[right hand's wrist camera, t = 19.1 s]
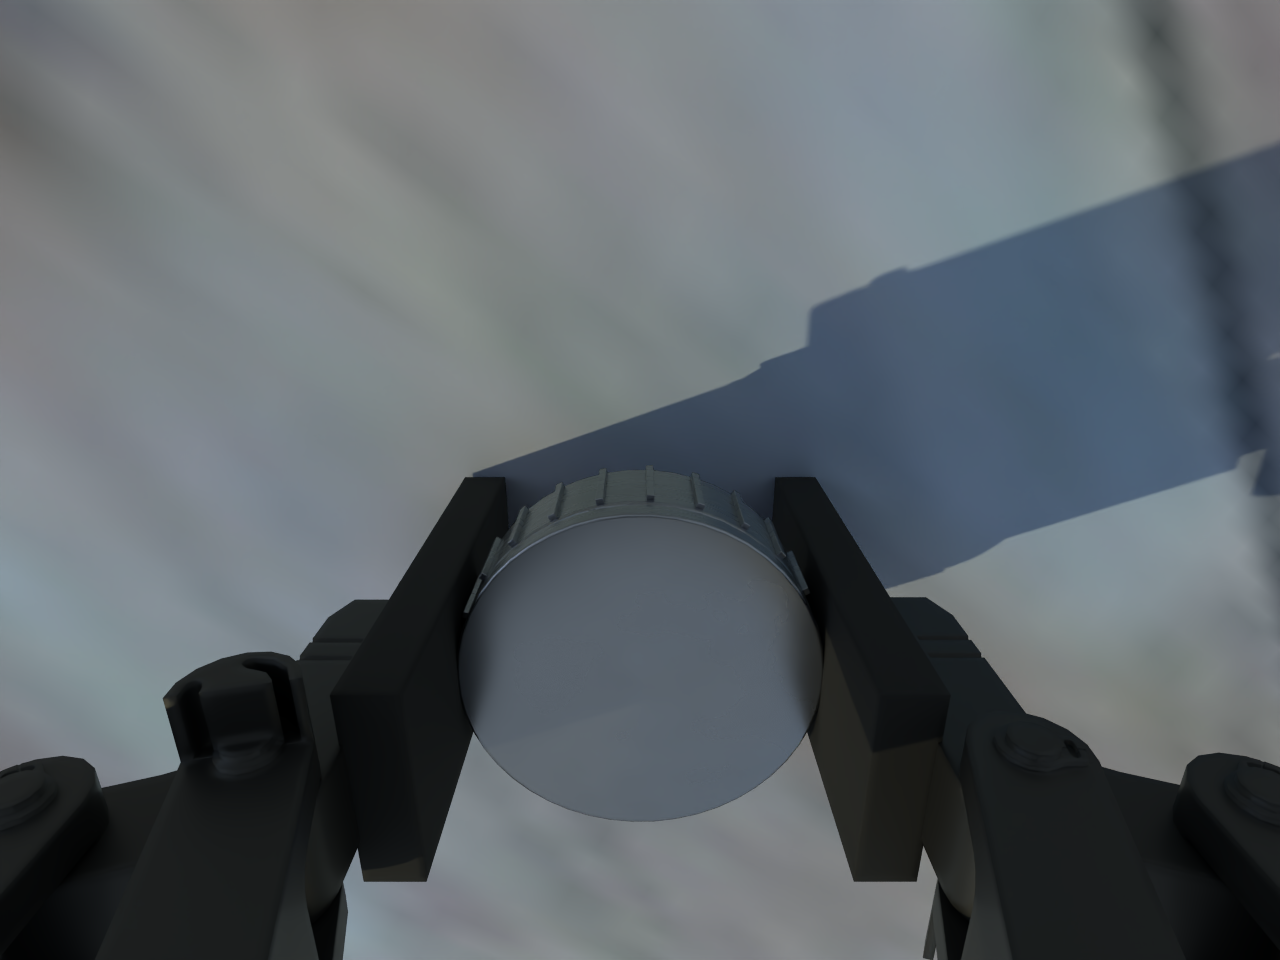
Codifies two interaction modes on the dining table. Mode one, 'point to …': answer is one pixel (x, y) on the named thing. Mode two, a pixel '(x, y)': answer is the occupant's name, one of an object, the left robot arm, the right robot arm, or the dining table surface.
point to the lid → (640, 648)
